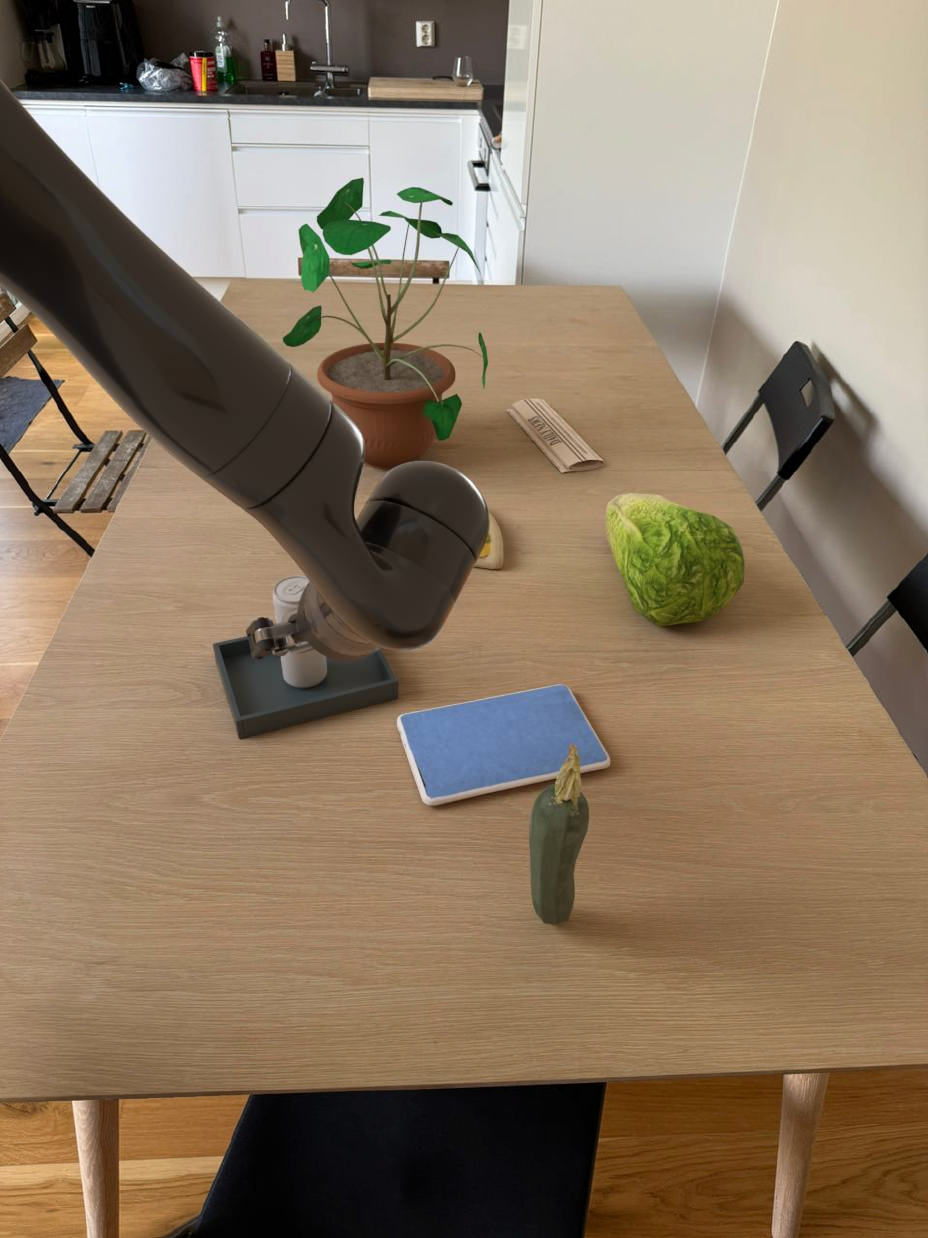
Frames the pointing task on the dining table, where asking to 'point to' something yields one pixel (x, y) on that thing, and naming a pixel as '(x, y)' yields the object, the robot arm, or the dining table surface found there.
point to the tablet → (497, 743)
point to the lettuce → (673, 558)
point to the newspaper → (554, 436)
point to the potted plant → (381, 372)
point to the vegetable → (557, 842)
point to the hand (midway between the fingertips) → (324, 634)
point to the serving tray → (276, 704)
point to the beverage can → (296, 667)
